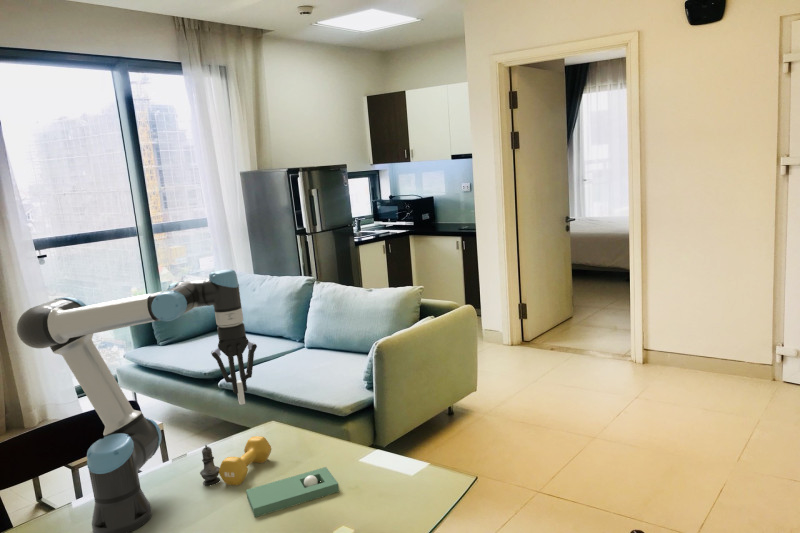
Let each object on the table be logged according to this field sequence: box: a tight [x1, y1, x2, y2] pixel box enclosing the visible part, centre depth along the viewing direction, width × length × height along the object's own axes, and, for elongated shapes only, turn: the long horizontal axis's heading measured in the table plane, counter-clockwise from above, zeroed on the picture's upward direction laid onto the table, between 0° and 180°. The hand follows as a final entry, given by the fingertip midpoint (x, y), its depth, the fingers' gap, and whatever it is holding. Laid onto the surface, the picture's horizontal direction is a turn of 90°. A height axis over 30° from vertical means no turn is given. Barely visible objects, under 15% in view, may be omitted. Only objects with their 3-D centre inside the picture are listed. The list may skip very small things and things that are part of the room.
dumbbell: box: [219, 435, 272, 486], centre depth 193 cm, size 19×9×8 cm, turn 162°
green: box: [245, 466, 340, 518], centre depth 176 cm, size 24×12×2 cm, turn 114°
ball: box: [304, 475, 318, 488], centre depth 178 cm, size 4×4×4 cm
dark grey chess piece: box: [199, 444, 221, 487], centre depth 189 cm, size 6×6×12 cm
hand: (241, 402), depth 179 cm, fingers closed
